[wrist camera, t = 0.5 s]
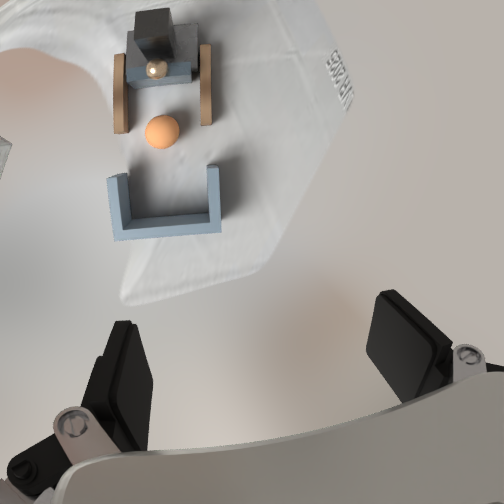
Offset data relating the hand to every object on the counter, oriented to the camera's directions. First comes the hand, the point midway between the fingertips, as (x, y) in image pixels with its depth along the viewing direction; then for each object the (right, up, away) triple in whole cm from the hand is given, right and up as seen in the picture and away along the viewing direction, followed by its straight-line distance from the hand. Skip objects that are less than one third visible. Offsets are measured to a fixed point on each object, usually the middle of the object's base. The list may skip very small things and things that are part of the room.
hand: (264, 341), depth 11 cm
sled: (-11, +26, +19) cm, 34 cm away
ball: (-11, +17, +21) cm, 29 cm away
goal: (-11, +11, +25) cm, 29 cm away
